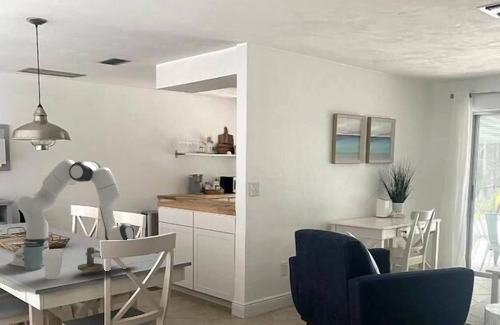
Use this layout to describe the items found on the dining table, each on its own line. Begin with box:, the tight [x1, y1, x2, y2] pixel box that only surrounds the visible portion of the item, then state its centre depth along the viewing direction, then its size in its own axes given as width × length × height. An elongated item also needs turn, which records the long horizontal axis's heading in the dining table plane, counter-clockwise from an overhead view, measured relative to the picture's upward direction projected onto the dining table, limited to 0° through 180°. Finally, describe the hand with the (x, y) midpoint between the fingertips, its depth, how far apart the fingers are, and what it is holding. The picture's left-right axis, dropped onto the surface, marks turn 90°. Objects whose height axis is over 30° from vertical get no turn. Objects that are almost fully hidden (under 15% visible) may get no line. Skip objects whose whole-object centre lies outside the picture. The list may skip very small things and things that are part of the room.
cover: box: [77, 246, 104, 272], centre depth 242 cm, size 12×12×10 cm
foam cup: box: [42, 248, 64, 280], centre depth 235 cm, size 10×9×13 cm
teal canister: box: [22, 244, 44, 272], centre depth 254 cm, size 10×10×12 cm
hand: (88, 254), depth 241 cm, fingers closed on cover, 3 cm apart
